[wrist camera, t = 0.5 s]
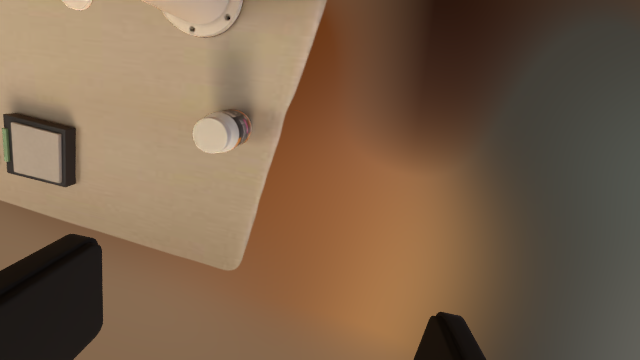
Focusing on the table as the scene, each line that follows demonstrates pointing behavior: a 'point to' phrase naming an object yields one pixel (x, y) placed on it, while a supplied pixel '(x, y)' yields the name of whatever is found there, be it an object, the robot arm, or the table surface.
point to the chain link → (78, 4)
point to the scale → (39, 149)
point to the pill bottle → (222, 131)
